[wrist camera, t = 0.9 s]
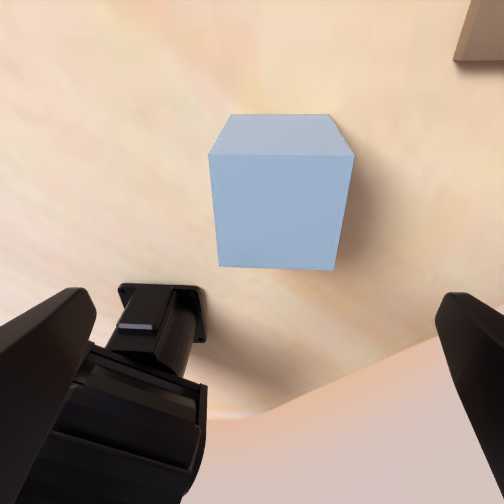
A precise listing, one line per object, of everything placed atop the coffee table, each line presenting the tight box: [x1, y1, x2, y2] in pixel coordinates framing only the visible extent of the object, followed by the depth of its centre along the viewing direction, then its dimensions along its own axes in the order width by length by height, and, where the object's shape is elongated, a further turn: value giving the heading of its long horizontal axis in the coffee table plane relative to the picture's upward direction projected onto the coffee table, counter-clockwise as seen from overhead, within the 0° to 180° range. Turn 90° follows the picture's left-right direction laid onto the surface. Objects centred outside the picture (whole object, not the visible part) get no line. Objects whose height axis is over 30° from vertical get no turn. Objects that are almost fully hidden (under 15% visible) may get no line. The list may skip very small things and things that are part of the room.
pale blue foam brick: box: [208, 115, 355, 271], centre depth 15 cm, size 5×5×7 cm
